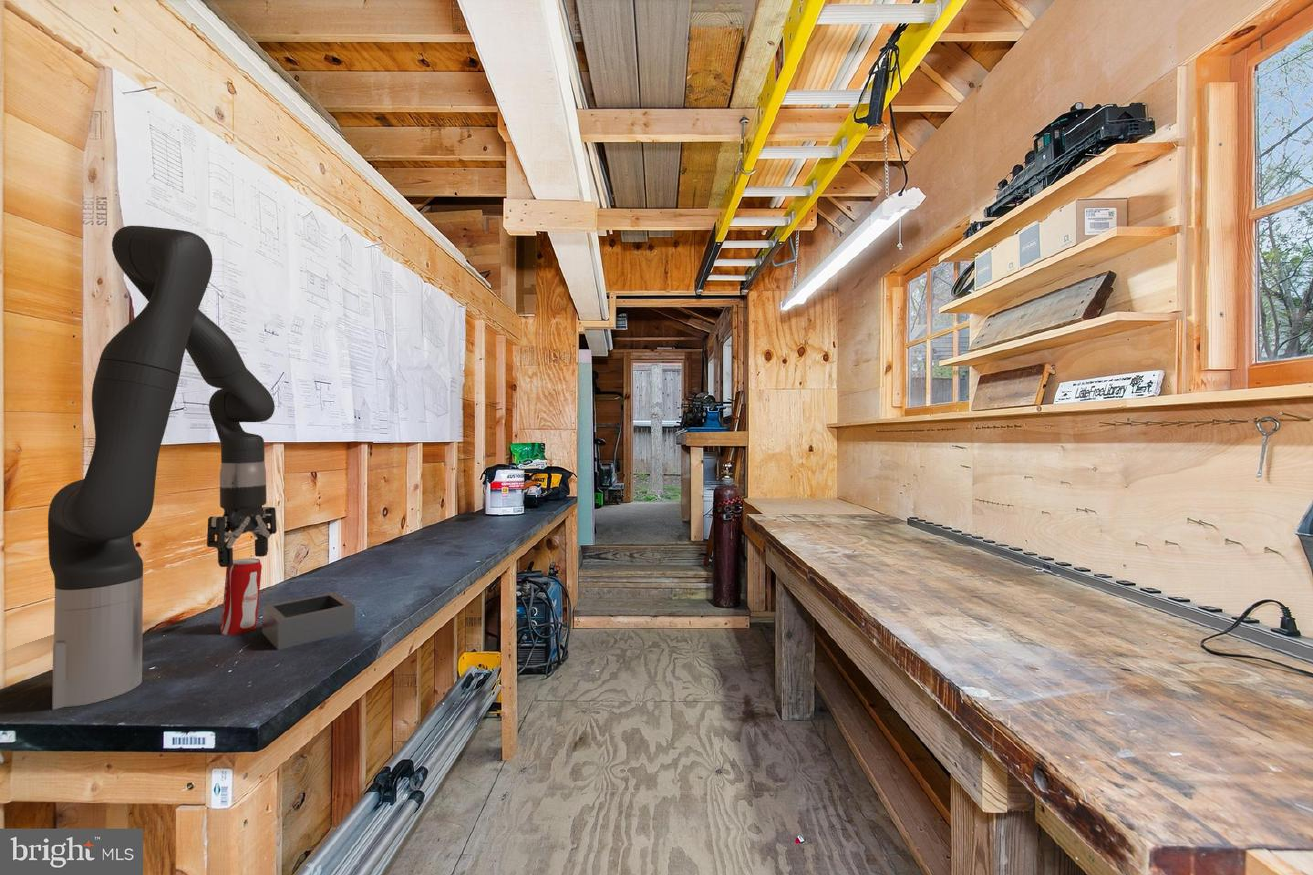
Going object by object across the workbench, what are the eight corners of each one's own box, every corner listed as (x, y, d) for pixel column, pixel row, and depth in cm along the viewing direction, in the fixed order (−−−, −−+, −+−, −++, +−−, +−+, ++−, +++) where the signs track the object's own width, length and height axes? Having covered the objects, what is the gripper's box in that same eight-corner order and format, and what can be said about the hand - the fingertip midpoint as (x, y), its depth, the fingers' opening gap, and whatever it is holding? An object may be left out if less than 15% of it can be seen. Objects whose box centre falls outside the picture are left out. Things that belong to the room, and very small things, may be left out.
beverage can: (220, 631, 105) (220, 560, 105) (259, 624, 109) (260, 555, 109) (221, 640, 100) (221, 565, 100) (262, 632, 105) (263, 560, 105)
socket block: (277, 653, 94) (278, 621, 94) (262, 635, 103) (262, 606, 103) (354, 633, 104) (354, 605, 104) (334, 618, 113) (334, 592, 113)
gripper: (230, 487, 98) (231, 570, 98) (287, 480, 112) (288, 553, 112) (193, 487, 98) (194, 570, 98) (254, 480, 112) (255, 552, 112)
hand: (244, 561), depth 105 cm, fingers open, 8 cm apart
